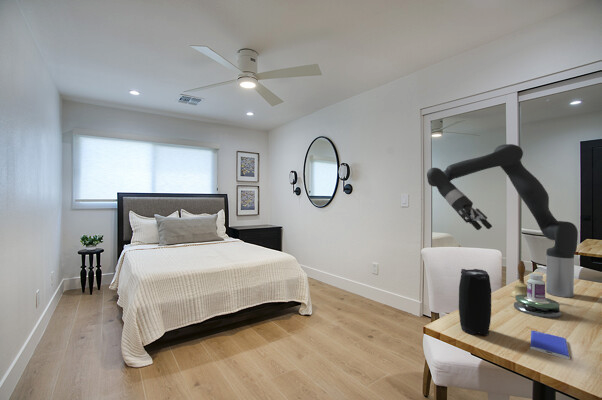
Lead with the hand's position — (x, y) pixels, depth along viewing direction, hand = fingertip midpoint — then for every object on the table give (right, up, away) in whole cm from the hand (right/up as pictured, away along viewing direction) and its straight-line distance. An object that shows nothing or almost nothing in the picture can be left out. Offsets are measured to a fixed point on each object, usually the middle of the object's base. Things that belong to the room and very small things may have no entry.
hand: (485, 228), depth 118 cm
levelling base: (+13, -31, -10) cm, 35 cm away
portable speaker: (-21, -31, -27) cm, 46 cm away
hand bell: (+19, -31, +5) cm, 37 cm away
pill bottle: (+13, -27, -10) cm, 31 cm away
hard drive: (-5, -32, -36) cm, 48 cm away
